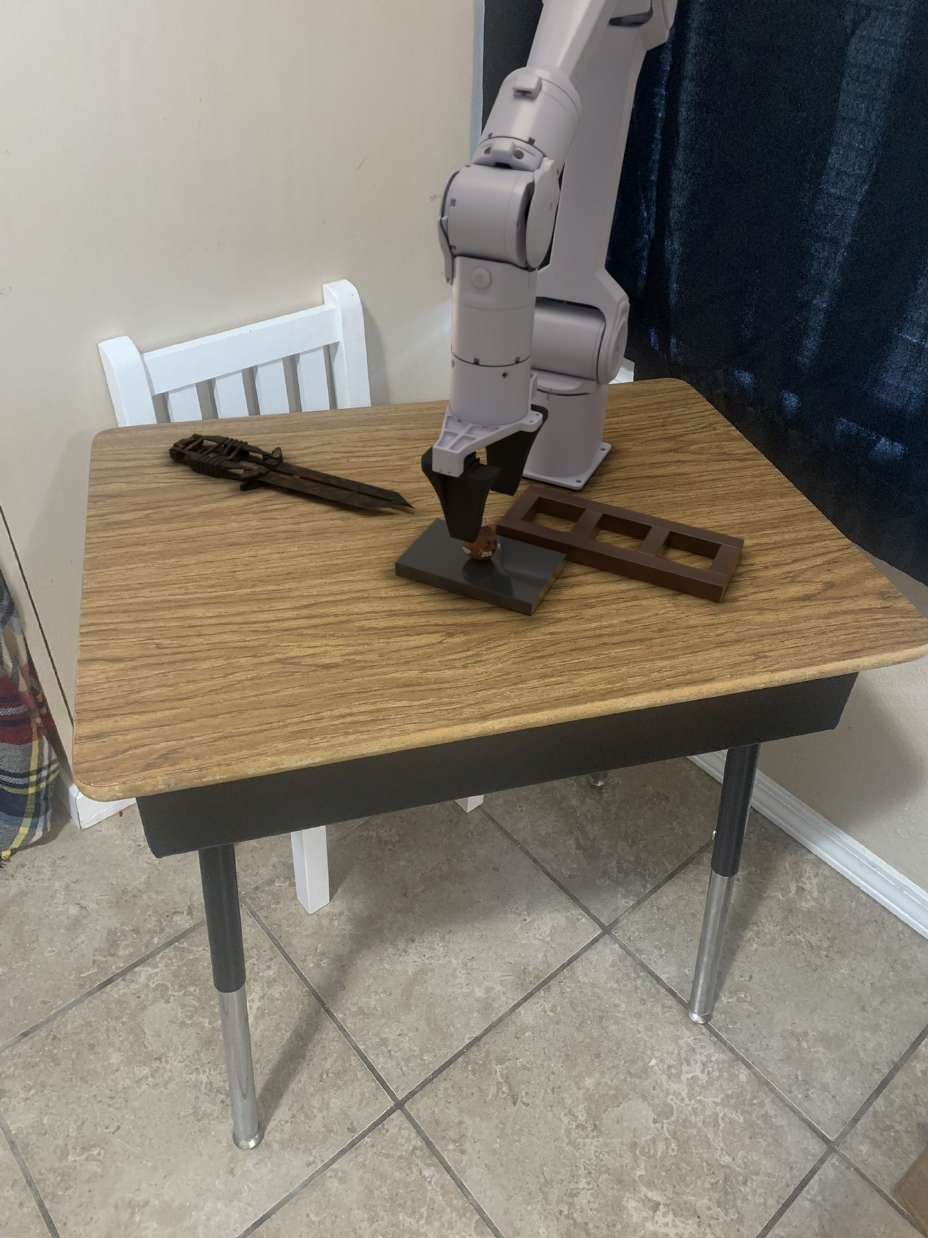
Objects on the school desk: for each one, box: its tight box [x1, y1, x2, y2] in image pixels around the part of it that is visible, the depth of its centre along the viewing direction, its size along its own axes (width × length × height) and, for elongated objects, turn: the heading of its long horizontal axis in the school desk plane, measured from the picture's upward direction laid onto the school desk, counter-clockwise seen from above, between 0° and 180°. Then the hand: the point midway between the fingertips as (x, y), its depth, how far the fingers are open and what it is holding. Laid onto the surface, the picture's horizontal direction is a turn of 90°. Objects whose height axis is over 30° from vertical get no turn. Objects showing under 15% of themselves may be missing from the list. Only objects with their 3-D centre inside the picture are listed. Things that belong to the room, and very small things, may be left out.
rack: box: [495, 484, 745, 603], centre depth 83 cm, size 8×20×2 cm, turn 65°
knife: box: [168, 433, 416, 510], centre depth 90 cm, size 25×6×1 cm, turn 60°
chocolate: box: [462, 513, 500, 560], centre depth 78 cm, size 3×2×4 cm
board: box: [394, 517, 567, 616], centre depth 80 cm, size 8×12×1 cm, turn 65°
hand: (483, 514), depth 77 cm, fingers open, 7 cm apart
